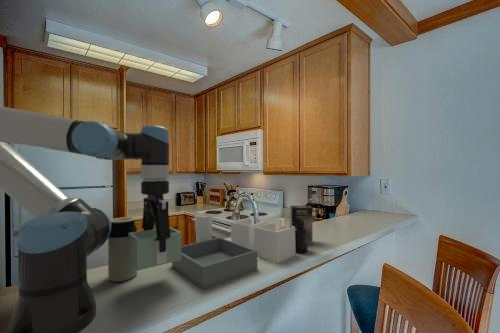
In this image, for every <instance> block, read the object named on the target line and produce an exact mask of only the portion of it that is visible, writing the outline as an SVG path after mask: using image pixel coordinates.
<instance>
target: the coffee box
mask: <svg viewBox="0 0 500 333" xmlns="http://www.w3.org/2000/svg"><path fill="white" fill-rule="evenodd" d="M293 220H303V221H304V227H305V228H306V229H307V241H308V246H312V245H313V238H314V237H313V207H312V206H311V205H289V228H291V227H292V221H293Z"/></svg>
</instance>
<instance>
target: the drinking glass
mask: <svg viewBox="0 0 500 333" xmlns="http://www.w3.org/2000/svg"><path fill="white" fill-rule="evenodd" d="M194 227H195V237H196V239H195V240H196V243H198V242H203V241H207V240H211V239H212V236H213V235H212V234H213V215H212V213H197V214H195V216H194Z"/></svg>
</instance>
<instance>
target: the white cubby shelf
mask: <svg viewBox="0 0 500 333" xmlns="http://www.w3.org/2000/svg"><path fill="white" fill-rule="evenodd" d="M230 241H232V242H234V243H237V244H240V245H243V246H245V247H248V248H251V249H254V250H256V251H257V258H261V259H263V260H266V261H270V262H272V263H276V264H279V263H281V262H283V261H285V260H288V259H290V258H292V257H294V256H296V255H297V253H296V251H295V227H294V226H292V227H291V228H290V227H288V228H285V229H281V230H279V231H276V222H270V223H268V221H263V222H259V223H254V224H252V218H250V217H249V218H244V219H238V220H234V221H230Z"/></svg>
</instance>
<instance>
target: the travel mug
mask: <svg viewBox="0 0 500 333" xmlns="http://www.w3.org/2000/svg"><path fill="white" fill-rule="evenodd" d="M110 220H111V223H112V230H111V234H110V236H109V238H108V239H107V241H108V246H107V248H108V250H107V251H108V252H107V253H108V254H107V255H108V257H107V264H108V265H107V266H108V267H107V269H108V272H107V274H108V275H107V276H108V280H109V281H111V282H115V283H117V282H118V283H119V282H125V281H128V280H131V279H133V278H134V277H136V276H137V275H138V271H137V270H136V269H135V268H134V267H133V266H132V264H131V263H130V262H129V261H128V235H129V233H132V232H138V227H137V226H136V223H135V222H136V220H137V217H133V216H124V217H123V216H122V217H116V218H110Z"/></svg>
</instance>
